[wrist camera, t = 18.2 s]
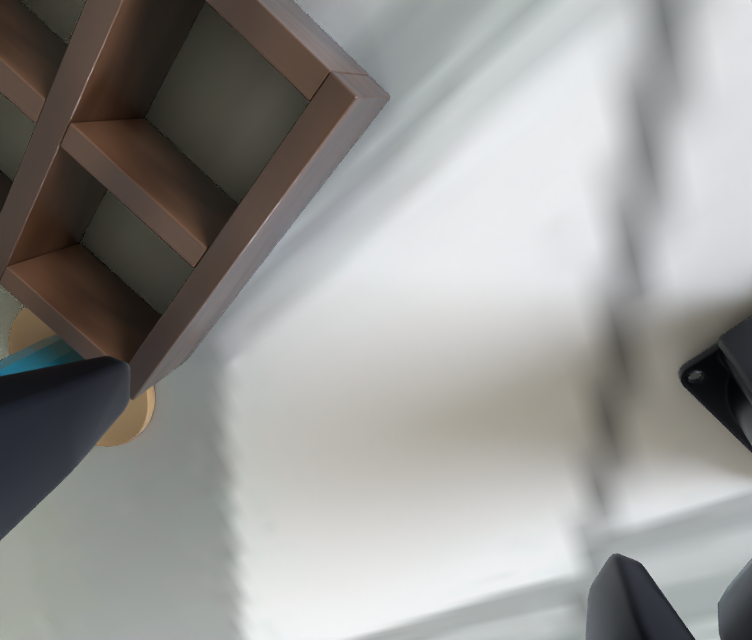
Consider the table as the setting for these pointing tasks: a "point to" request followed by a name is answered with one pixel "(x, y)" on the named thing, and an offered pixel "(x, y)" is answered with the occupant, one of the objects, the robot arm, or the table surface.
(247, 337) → the table surface
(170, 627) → the table surface
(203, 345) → the table surface
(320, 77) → the glass rack
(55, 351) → the tumbler
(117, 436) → the coaster
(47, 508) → the table surface
